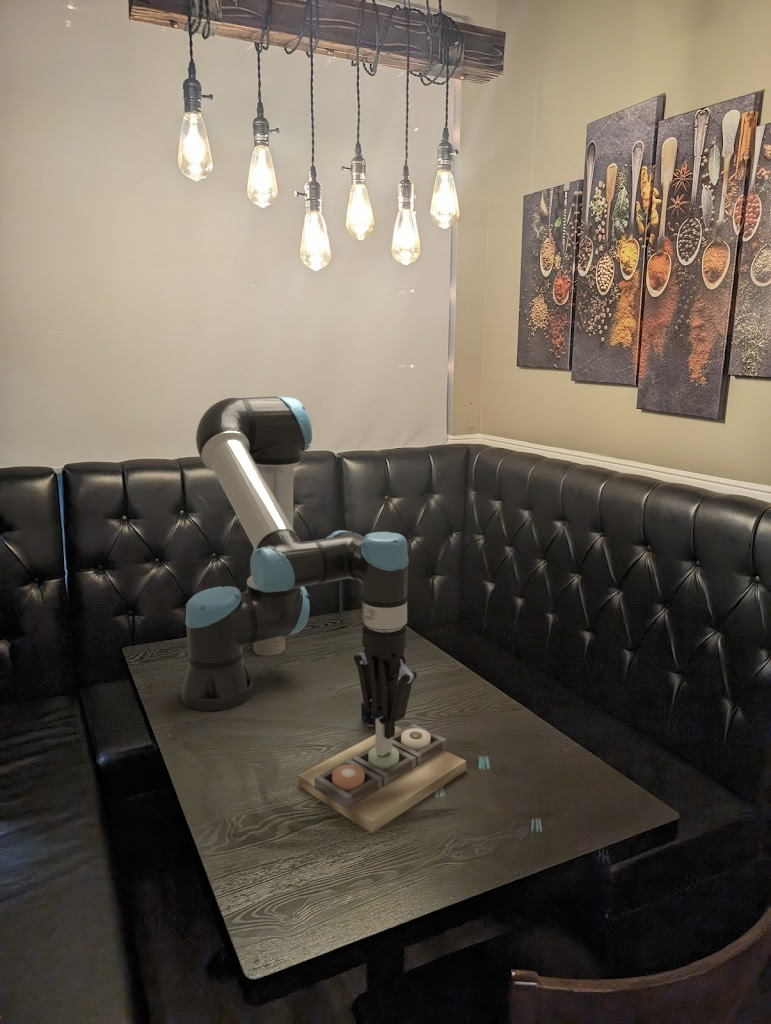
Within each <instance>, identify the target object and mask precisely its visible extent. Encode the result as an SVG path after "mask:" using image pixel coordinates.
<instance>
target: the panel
mask: <svg viewBox="0 0 771 1024" xmlns="http://www.w3.org/2000/svg"><path fill="white" fill-rule="evenodd" d="M412 728H418V729H423V730H426V731H427V732H429V734H430V736H431V738H430V745H428V746H427V747H425V748H423V749H421V750H420V751H418V752H416V751H414V750H412V749H410V748H408V747H406V746H405V745H403V744H401V734H402V732H404V731H405V730H407V729H412ZM374 747H376V733H375V734H373V735H372V736H370V737H367V738H366V739H364V740H362V741H360V742H358V743H356V744H355V745H352V746H351V747H349V748H347V749H345V750H343V751H340V752H339V753H337V754H335V755H334V756H332V757H330V758H328V759H325V760H324V761H322V762H320V763H318V764H317V765H315V766H313V767H311V768H308V770H307V769H306V771H304V772H302V773H300V774H298V775H297V782H298V783H297V785H298V787H300V788H301V789H303V790H304V791H306V792H307V793H308V794H310V795H312V796H314V797H315V798H316V799H318V800H320V801H322V802H323V803H324V804H326V805H327V806H329V807H331V808H332V809H333V810H335V811H337V812H338V813H340V814H341V815H342V816H344V817H346V818H347V819H349V820H350V821H352V822H353V823H355V824H356V825H358V826H359V827H361V828H363V829H364V830H365V831H366V832H369V833H371V834H373V833H374V832H376V831H378V830H379V829H380V828H382V827H384V826H386V824H388V823H389V822H391V821H392V820H394V819H395V818H397V817H399V816H400V815H402V814H404V813H405V812H406V811H407V810H409V809H410V808H412V807H413V806H415V805H417V804H418V803H419V802H421V801H423V800H424V799H425V798H427V797H429V796H430V795H432V794H433V793H434V792H436V791H437V790H439V789H440V788H442V787H444V786H445V785H446V784H448V783H450V782H451V781H453V780H454V779H456V778H458V777H459V776H460V775H462V774H463V773H465V772H466V771H467V760H465V759H464V758H461V757H459V756H458V755H455V754H453V753H451V752H449V751H447V738H444V737H442V736H440V735H438V734H437V733H434V732H432V731H430V730H428V729H426V728H424V727H421V726H419V725H417V724H415V723H413V724H411V725H409V726H408V727H406V728H404V729H402V728H400V727H398V726H396V725H395V735H394V736H393V737H392V747H394V748H396V749H397V750H398V752H399V763H398V764H396V765H394V766H393V767H391V768H389V769H387V770H386V771H382V770H381V769H379V768H377V767H375V766H373V765H372V764H370V763H368V753H369V751H370V749H372V748H374ZM342 765H356V766H359V767H360V768H362V769H363V770H364V784H362V785H360V786H358V787H357V788H355V789H353V790H352V791H350V792H348V793H347V792H345V791H343V790H342V789H340V788H339V787H337V786H335V785H334V784H332V772H333V771H334V769H336V768H337V767H339V766H342Z"/></svg>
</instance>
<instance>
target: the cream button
mask: <svg viewBox="0 0 771 1024" xmlns="http://www.w3.org/2000/svg"><path fill="white" fill-rule="evenodd" d="M426 730H427V729H426ZM426 730H423V729H418V728H412V729H407V730H405V731H404V732H402V734H401V744H403V745H405V746H406V747H408V748H410V749H412V750H414V751H416V752H418V751H420V750H421V749H423V748H425V747H427V746H428V745H430V738H431V736H430V734H429V732H427V731H426Z"/></svg>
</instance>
